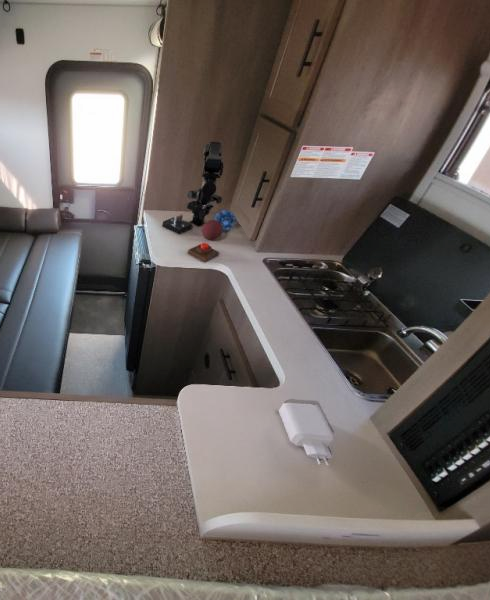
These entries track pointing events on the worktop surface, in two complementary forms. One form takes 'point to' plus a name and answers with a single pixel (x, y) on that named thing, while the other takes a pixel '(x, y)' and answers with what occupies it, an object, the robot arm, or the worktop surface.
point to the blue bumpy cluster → (226, 219)
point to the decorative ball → (212, 230)
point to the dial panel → (177, 226)
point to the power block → (203, 253)
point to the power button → (204, 246)
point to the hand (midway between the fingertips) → (200, 219)
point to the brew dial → (178, 219)
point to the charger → (308, 429)
